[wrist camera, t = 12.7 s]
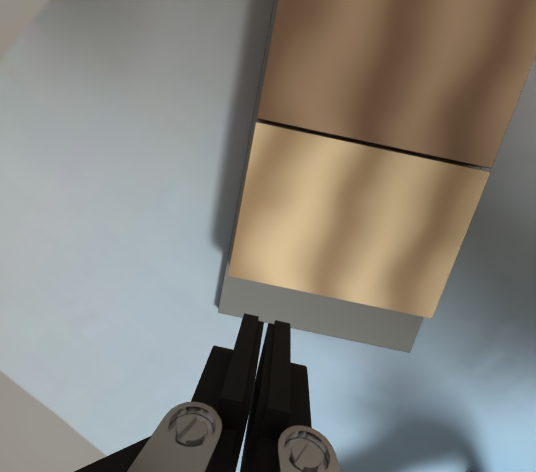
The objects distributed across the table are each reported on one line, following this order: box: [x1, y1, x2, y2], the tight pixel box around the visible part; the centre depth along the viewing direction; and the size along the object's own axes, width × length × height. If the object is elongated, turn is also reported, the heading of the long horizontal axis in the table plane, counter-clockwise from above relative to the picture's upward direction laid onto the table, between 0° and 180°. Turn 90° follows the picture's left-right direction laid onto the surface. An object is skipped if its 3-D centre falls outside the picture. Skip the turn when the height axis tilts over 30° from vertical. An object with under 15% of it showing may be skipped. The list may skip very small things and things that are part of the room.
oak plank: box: [228, 122, 490, 319], centre depth 25 cm, size 17×12×2 cm
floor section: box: [218, 0, 536, 353], centre depth 24 cm, size 18×30×3 cm, turn 168°
